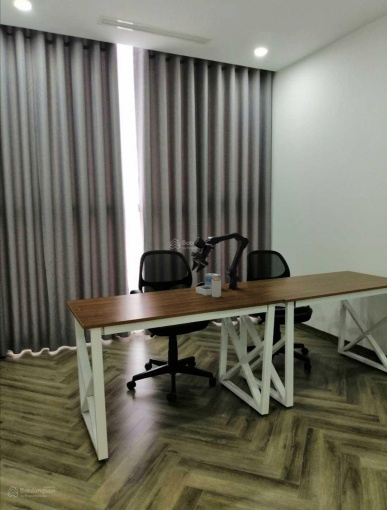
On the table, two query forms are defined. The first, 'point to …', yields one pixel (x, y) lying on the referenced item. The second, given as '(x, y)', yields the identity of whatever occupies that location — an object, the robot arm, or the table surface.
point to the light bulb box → (211, 278)
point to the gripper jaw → (216, 287)
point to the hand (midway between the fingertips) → (194, 271)
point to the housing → (204, 290)
